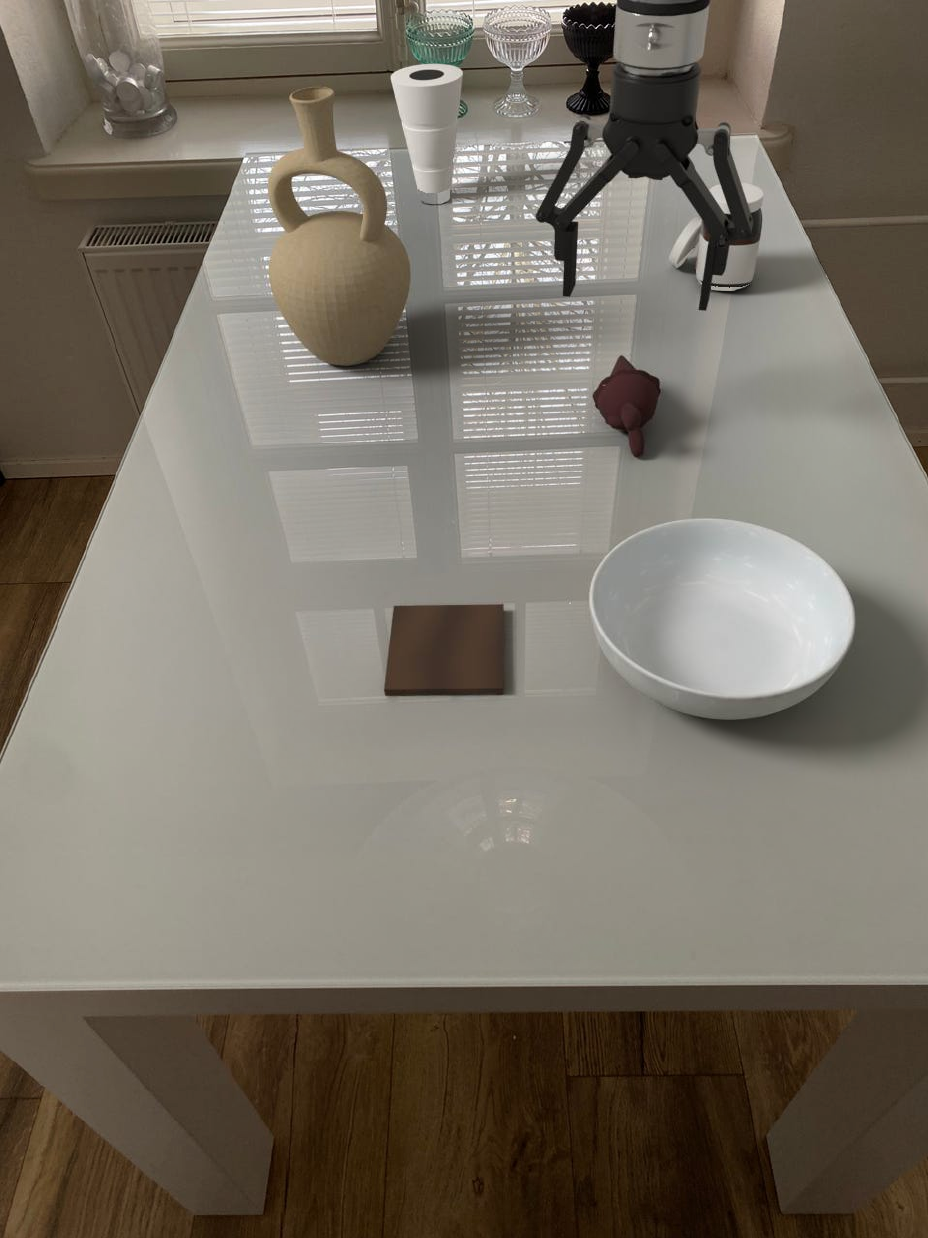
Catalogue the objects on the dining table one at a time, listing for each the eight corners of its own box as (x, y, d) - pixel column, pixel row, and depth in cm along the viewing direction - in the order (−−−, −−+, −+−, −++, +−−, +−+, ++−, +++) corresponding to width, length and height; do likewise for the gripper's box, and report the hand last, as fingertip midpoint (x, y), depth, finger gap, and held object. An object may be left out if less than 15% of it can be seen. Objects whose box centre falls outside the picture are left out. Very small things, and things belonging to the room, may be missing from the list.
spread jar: (754, 298, 125) (769, 209, 117) (666, 296, 127) (675, 208, 119) (749, 257, 134) (764, 171, 125) (667, 255, 135) (676, 170, 127)
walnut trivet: (503, 610, 87) (503, 603, 87) (503, 694, 80) (503, 688, 80) (394, 611, 88) (393, 605, 87) (385, 695, 81) (384, 689, 80)
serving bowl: (745, 548, 91) (757, 491, 86) (889, 704, 77) (914, 646, 72) (546, 611, 87) (547, 554, 82) (661, 789, 73) (671, 733, 68)
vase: (263, 379, 117) (204, 116, 96) (317, 314, 128) (274, 65, 107) (390, 396, 113) (358, 125, 92) (435, 327, 124) (415, 71, 103)
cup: (440, 180, 159) (432, 59, 146) (482, 198, 153) (477, 73, 140) (389, 199, 154) (376, 75, 142) (429, 218, 148) (420, 91, 136)
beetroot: (582, 339, 108) (592, 424, 98) (648, 322, 106) (664, 407, 96) (595, 387, 113) (605, 473, 103) (658, 372, 111) (674, 458, 102)
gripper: (503, 68, 82) (506, 301, 97) (807, 83, 76) (759, 328, 91) (525, 43, 87) (524, 268, 102) (812, 54, 81) (765, 291, 96)
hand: (635, 297), depth 96 cm, fingers open, 13 cm apart
